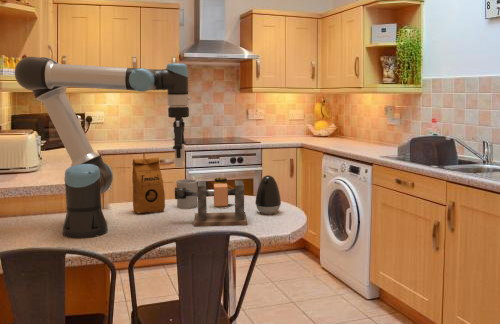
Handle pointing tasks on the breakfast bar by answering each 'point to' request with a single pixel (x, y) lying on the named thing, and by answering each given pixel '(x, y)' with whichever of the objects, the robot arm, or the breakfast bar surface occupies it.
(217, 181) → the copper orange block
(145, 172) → the coffee package
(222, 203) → the block
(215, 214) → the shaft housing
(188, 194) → the shaft
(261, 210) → the black egg shaped speaker
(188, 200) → the mug
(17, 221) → the breakfast bar surface
